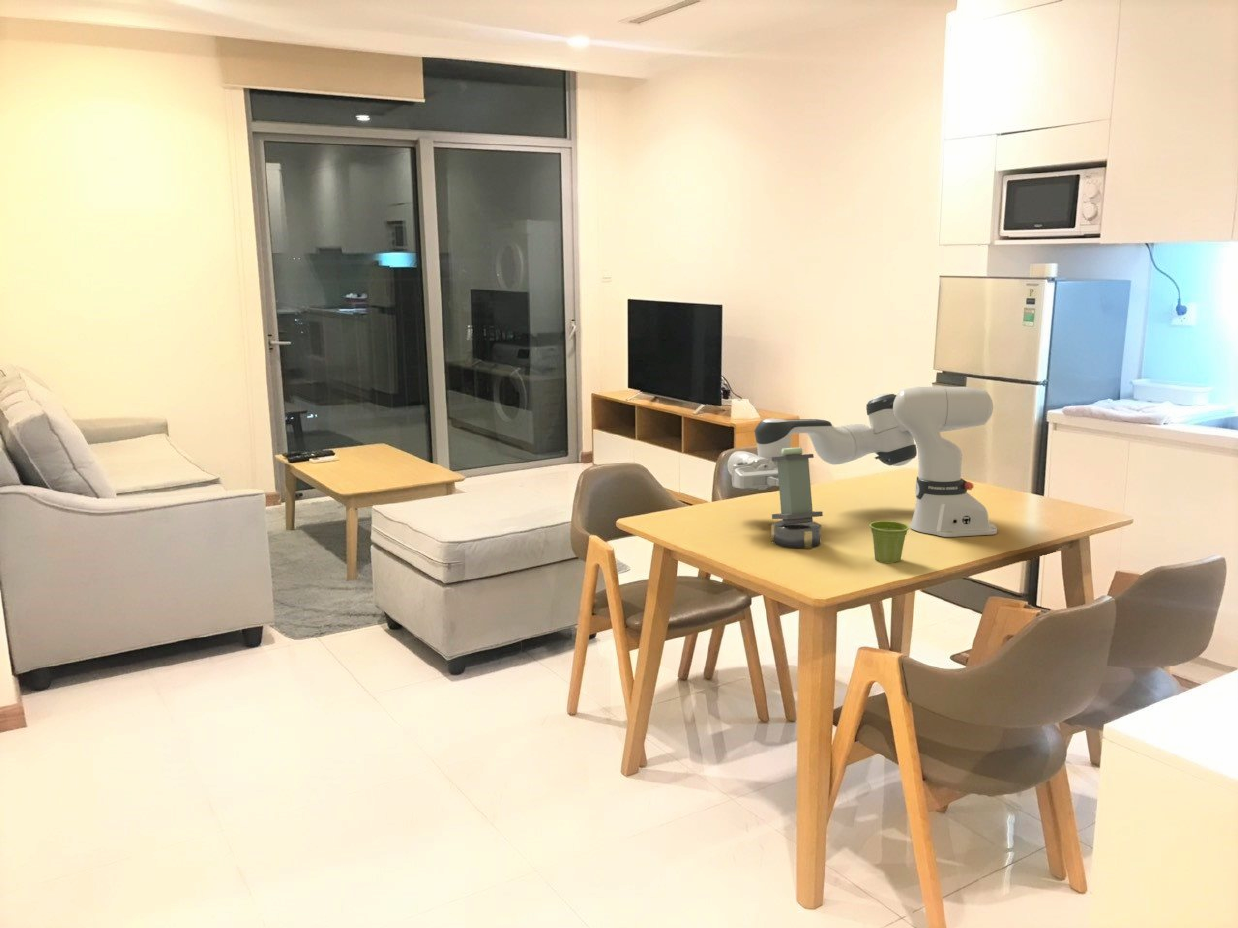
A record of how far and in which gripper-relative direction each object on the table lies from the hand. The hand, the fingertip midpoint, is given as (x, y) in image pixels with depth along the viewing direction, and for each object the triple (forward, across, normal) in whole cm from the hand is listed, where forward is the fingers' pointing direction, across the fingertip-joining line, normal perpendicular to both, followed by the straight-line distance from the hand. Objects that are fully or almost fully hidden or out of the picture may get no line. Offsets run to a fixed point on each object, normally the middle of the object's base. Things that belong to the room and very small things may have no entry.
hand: (783, 482), depth 264 cm
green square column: (+7, 0, -9) cm, 11 cm away
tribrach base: (+7, 0, -15) cm, 16 cm away
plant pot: (+29, -14, -15) cm, 36 cm away
